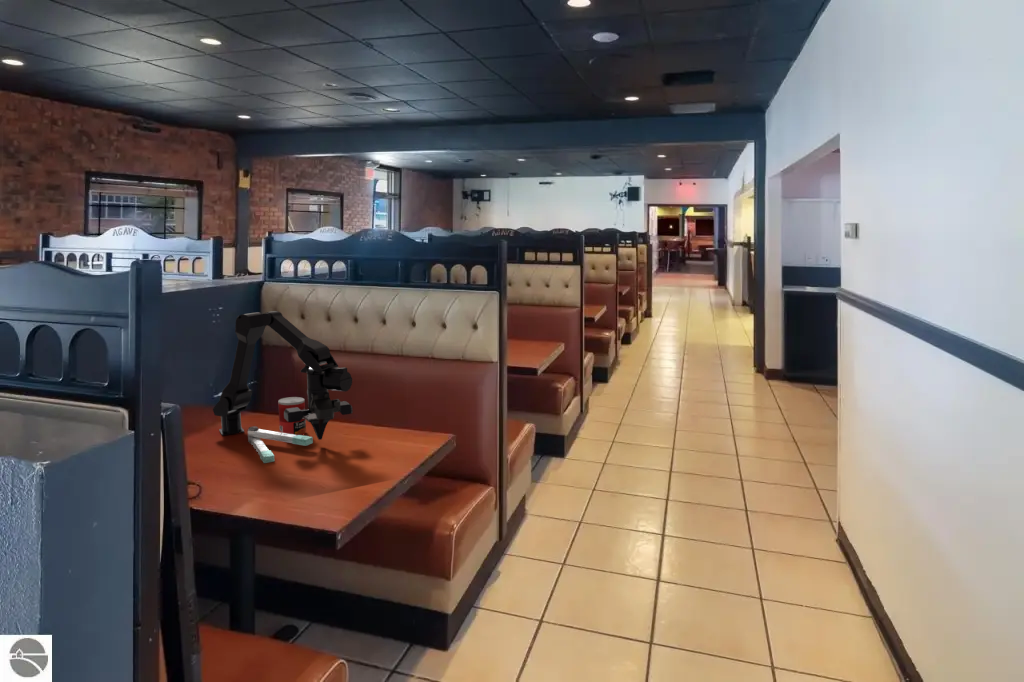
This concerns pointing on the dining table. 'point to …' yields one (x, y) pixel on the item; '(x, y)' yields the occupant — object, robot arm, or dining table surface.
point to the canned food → (291, 427)
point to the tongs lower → (261, 449)
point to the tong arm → (279, 436)
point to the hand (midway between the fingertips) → (319, 439)
